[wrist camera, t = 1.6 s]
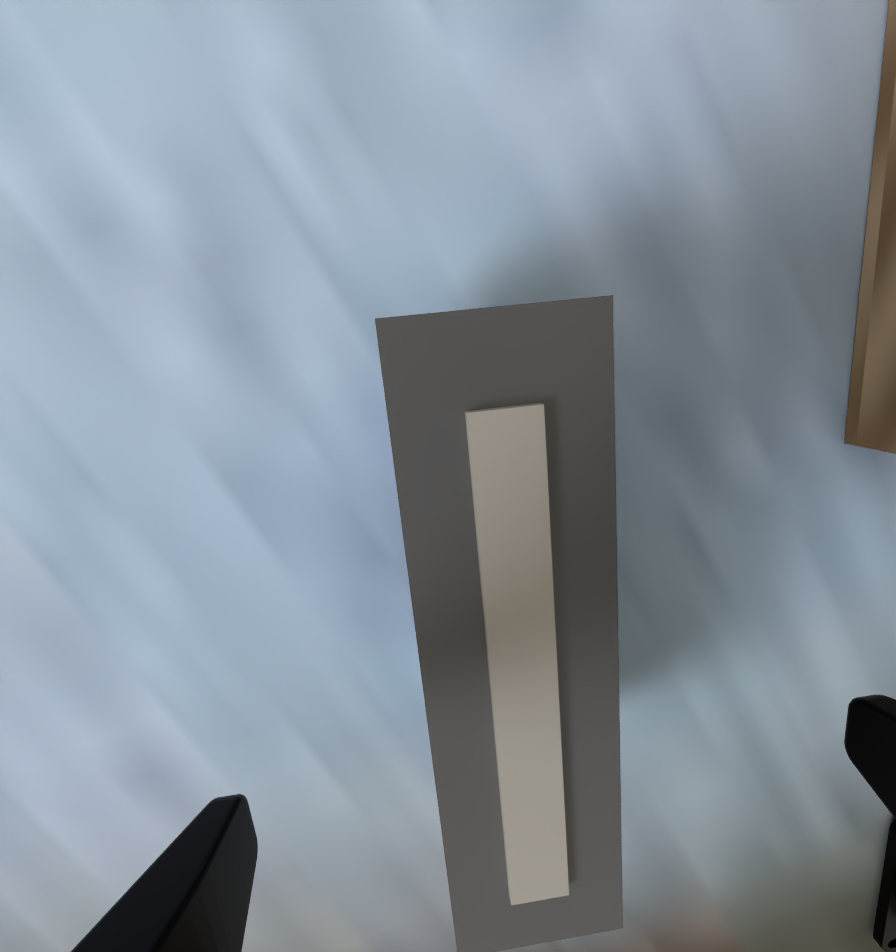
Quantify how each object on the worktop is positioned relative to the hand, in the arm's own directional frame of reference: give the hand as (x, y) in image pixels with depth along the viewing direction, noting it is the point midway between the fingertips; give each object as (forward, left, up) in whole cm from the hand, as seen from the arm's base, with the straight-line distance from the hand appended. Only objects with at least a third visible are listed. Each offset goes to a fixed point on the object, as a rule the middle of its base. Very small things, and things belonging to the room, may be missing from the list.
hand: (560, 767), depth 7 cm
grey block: (0, 0, -8) cm, 8 cm away
